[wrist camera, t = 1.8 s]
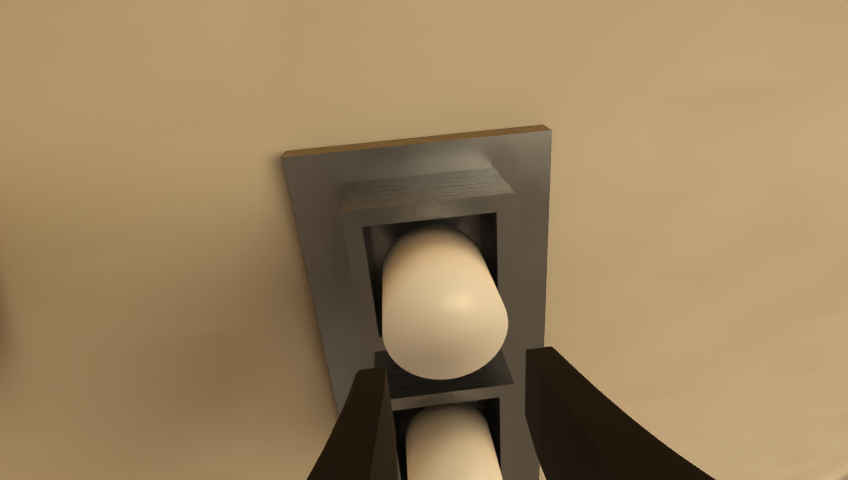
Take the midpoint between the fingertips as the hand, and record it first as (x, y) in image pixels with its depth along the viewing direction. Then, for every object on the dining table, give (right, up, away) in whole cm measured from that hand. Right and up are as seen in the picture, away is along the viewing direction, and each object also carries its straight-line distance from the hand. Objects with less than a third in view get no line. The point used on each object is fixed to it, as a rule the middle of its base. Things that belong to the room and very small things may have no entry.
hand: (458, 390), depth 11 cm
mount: (0, -3, +12) cm, 12 cm away
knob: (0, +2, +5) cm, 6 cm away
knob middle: (0, -5, +9) cm, 10 cm away
